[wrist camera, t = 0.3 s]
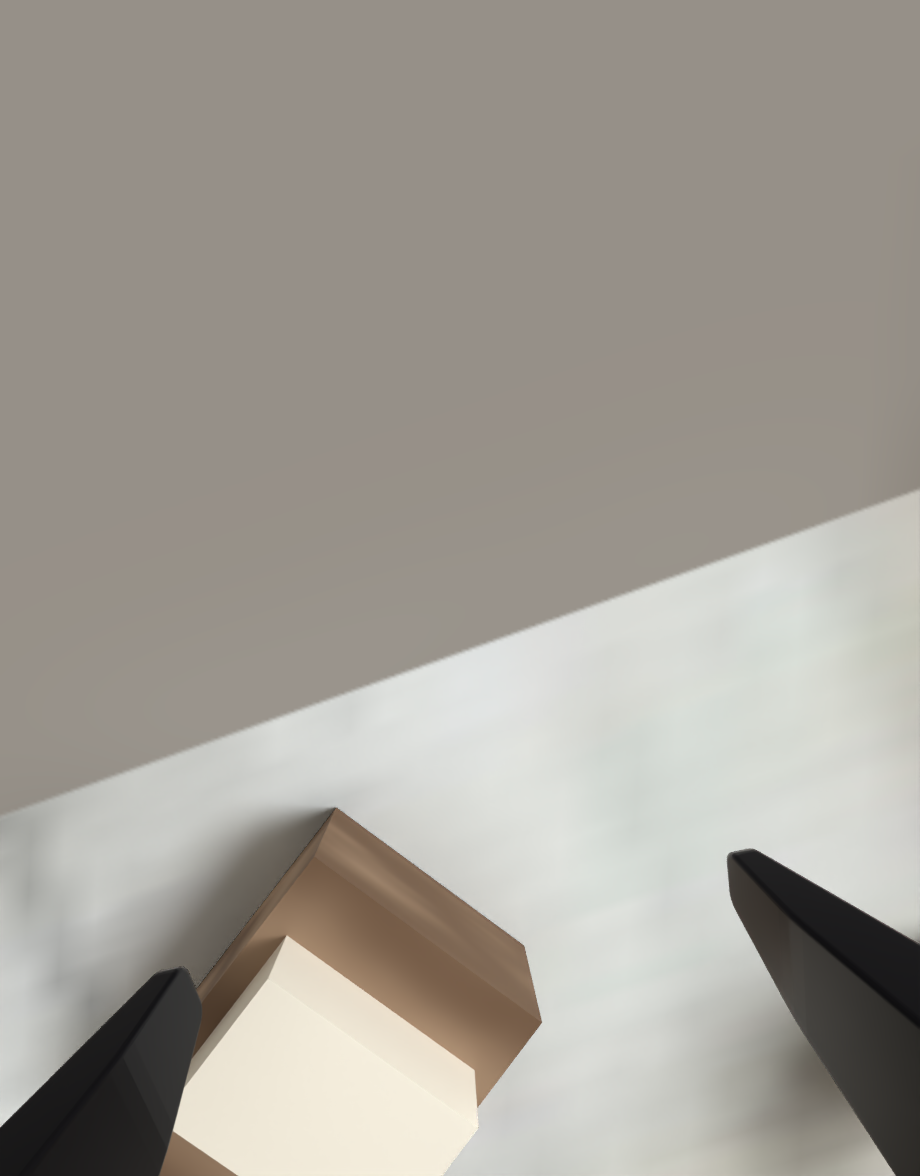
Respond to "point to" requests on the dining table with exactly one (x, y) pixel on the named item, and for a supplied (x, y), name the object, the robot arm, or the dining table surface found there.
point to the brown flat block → (382, 957)
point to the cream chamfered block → (323, 1082)
